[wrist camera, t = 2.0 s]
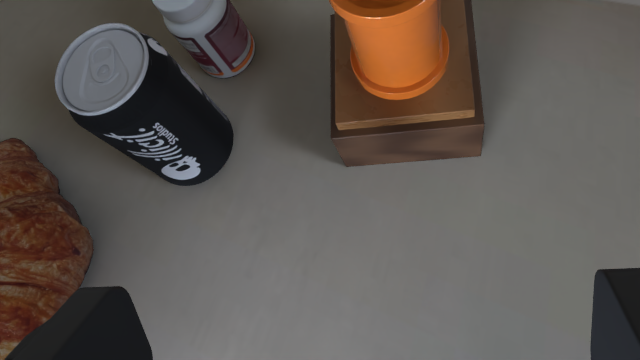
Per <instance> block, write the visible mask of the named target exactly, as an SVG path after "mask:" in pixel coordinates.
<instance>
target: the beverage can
mask: <svg viewBox="0 0 640 360" xmlns="http://www.w3.org/2000/svg"><path fill="white" fill-rule="evenodd" d="M55 88H56V92H57V95H58V97H59V99H60V101H61V102H62V104H63V105H64V106H65V107H67V108H68V110H69V112H70V114H71V116H72V117H73V119H74V120H75V121H76V122H77V123H78V124H79V125H80V126H81V127H83V128H85V129H86V130H88V131H89V132H91V133H92V134H94V135H96V136H97V137H99V138H100V139H102V140H103V141H105V142H107V143H108V144H110V145H111V146H113V147H115V148H116V149H118V150H119V151H121V152H122V153H124V154H126V155H127V156H129V157H130V158H132V159H133V160H135V161H137V162H138V163H140V164H141V165H143V166H144V167H146V168H148V169H149V170H151V171H152V172H154V173H156V174H157V175H159V176H160V177H162V178H163V179H165V180H167V181H168V182H170V183H173V184H176V185H181V186H190V185H196V184H199V183H202V182H204V181H206V180H208V179H210V178H211V177H213V176H214V175H215V174H216V173H218V171H219V170H220V169H221V168H222V167H223V166H224V164H225V163H226V161H227V160H228V158H229V156H230V153H231V150H232V146H233V130H232V126H231V123H230V121H229V119H228V118H227V116H226V115H225V114H224V113H223V112H222V111H221V110H220V109H219V107H218V106H217V105H216V104H215V103H214V102H213V101H212V100H211V99H210V98H209V97H208V96H207V95H206V93H205V92H204V91H203V90H202V89H201V88H200V87H199V86H198V85H197V84H196V83H195V82H194V80H193V79H192V78H191V77H190V76H189V75H188V74H187V73H186V72H185V71H184V70H183V69H182V68H181V66H180V65H179V64H178V63H177V62H176V61H175V60H174V59H173V58H172V57H171V56H170V55H169V53H168V52H167V51H166V50H165V49H164V48H163V47H162V46H161V45H160V44H159V43H158V42H157V41H156V40H155V39H154V38H152V37H150V36H148V35H146V34H144V33H141V32H137V31H136V30H135V29H134V28H132V27H130V26H128V25H125V24H121V23H106V24H102V25H98V26H95V27H93V28H91V29H89V30H87V31H86V32H84V33H83V34H81V35H80V36H79V37H77V38H76V39H75V40H74V41H73V42H72V43H71V44H70V45H69V47H68V48H67V49H66V50H65V52H64V53H63V55H62V57H61V59H60V61H59V64H58V66H57V69H56V74H55Z"/></svg>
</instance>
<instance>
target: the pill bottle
mask: <svg viewBox="0 0 640 360" xmlns="http://www.w3.org/2000/svg"><path fill="white" fill-rule="evenodd" d="M152 2H153V4H154V5H155V6H156V8H157V9H158V10H159V11H160V13H161V14H162V15H163V19H164V23H165V25H166V27H167V29H168V30H169V31H170V32H171V33H172V35H173V36H174V37H175V38H176V39H177V40H178V41H179V42H180V43H181V45H182V46H183V47H184V48H185V49H186V50H187V51H188V52H189V53H190V55H191V56H192V57H193V58H194V59H195V60H196V62H197V63H198V64H199V65H200V66H201V67H202V68H203V70H204V71H205V72H206V73H208V74H209V75H211V76H213V77H216V78H228V77H232V76H234V75H237V74H239V73H240V72H242V71H243V70H244V69H245V68H246V67H247V66H248V64H249V63H250V62H251V60H252V58H253V55H254V50H255V43H254V39H253V37H252V35H251V33H250V32H249V30H248V29H247V27H246V26H245V24H244V22H243V21H242V19H241V18H240V16H239V14H238V13H237V11H236V10H235V8H234V7H233V5H232V4H231V2H230V0H152Z"/></svg>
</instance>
